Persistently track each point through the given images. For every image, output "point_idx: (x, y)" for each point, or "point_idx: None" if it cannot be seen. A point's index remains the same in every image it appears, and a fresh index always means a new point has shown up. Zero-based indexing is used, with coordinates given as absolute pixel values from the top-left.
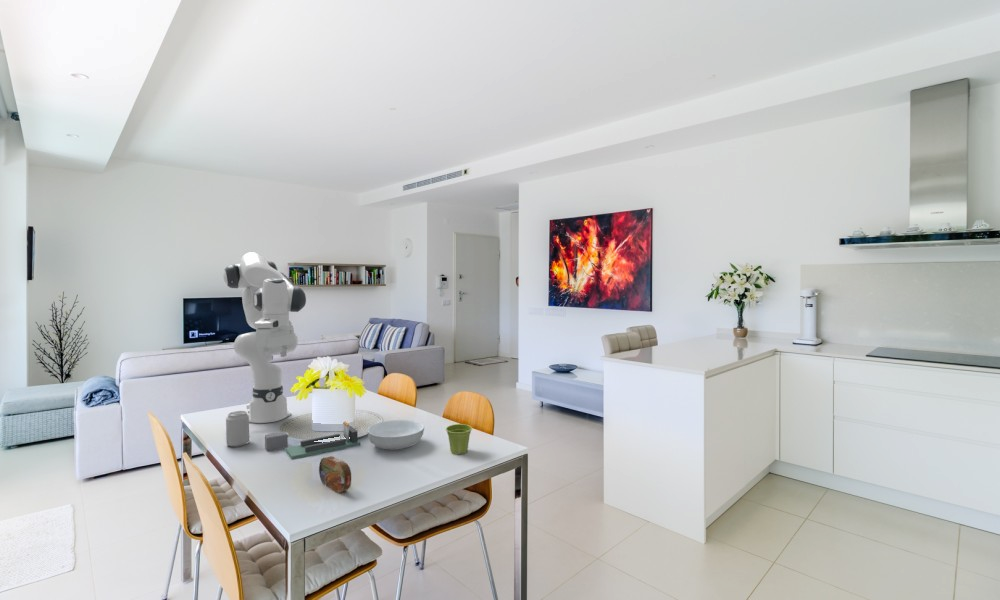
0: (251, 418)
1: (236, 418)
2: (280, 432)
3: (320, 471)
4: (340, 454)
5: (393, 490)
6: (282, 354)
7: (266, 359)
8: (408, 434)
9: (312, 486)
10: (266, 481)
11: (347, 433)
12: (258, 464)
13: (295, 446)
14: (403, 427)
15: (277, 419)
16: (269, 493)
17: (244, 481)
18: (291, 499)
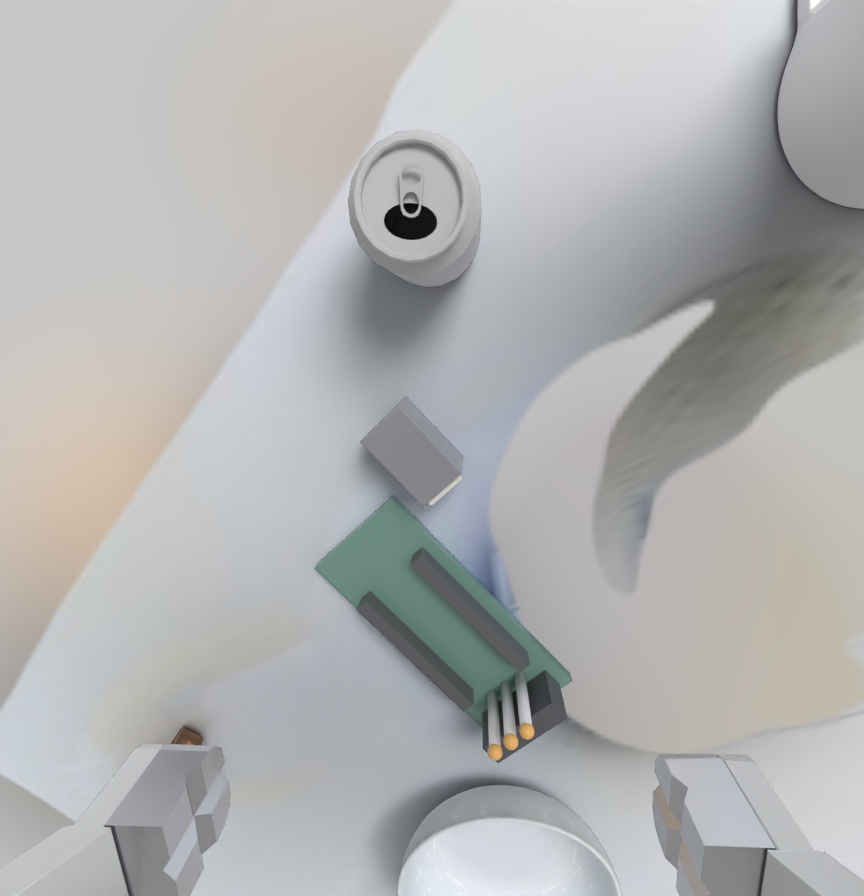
0: (815, 18)
1: (362, 239)
2: (441, 461)
3: (179, 739)
4: (393, 696)
5: (200, 881)
6: (686, 823)
7: (132, 758)
8: (573, 872)
9: (161, 708)
10: (149, 576)
11: (488, 723)
12: (252, 475)
13: (412, 531)
14: (601, 876)
15: (830, 194)
16: (91, 624)
17: (128, 513)
18: (84, 691)
